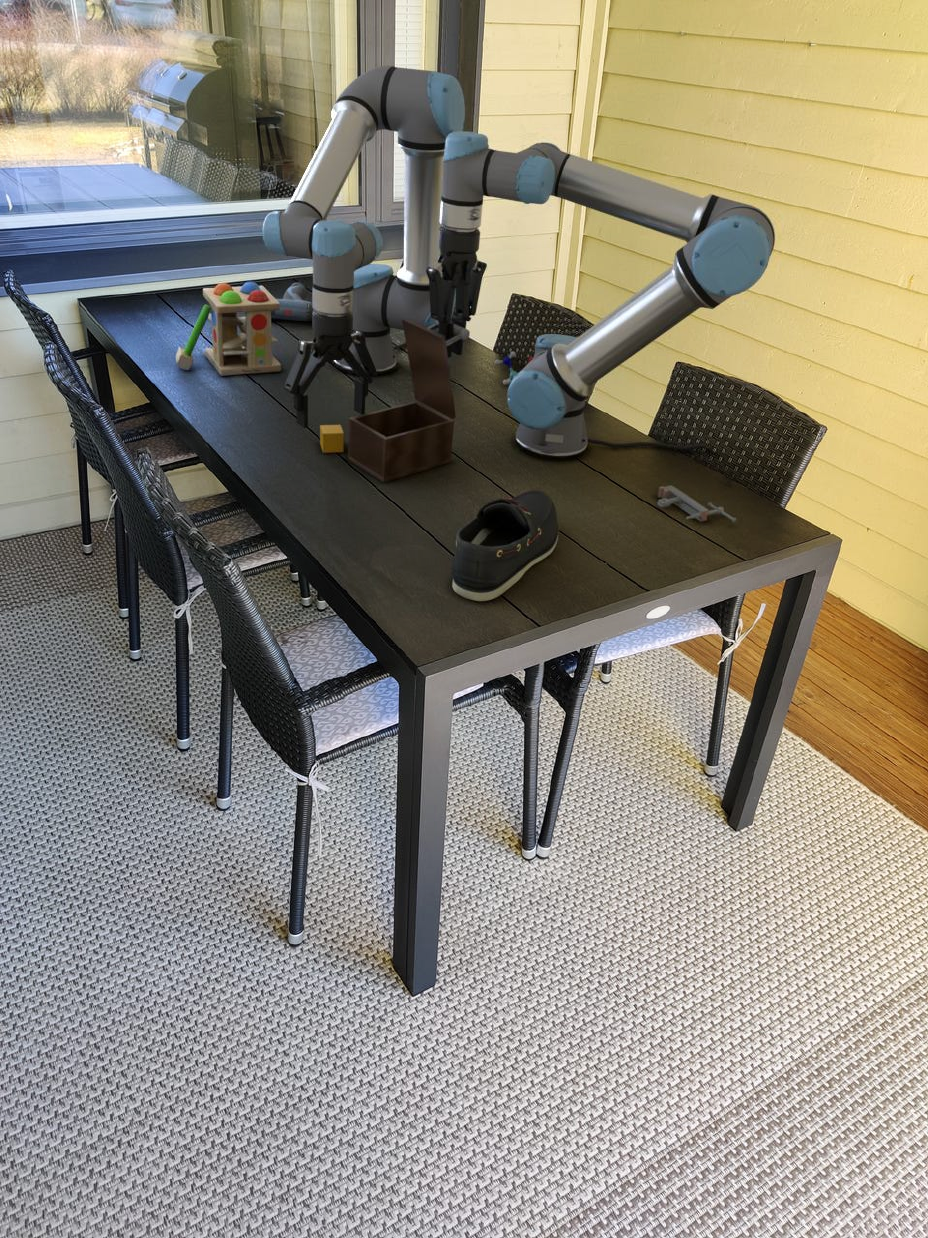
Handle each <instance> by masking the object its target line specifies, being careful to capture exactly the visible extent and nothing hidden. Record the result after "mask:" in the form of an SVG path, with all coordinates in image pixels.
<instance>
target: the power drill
mask: <svg viewBox="0 0 928 1238" xmlns="http://www.w3.org/2000/svg"><path fill="white" fill-rule="evenodd" d="M307 295H308V290H307V287H306V285H304V284H303V283H301V282H293V283H292V284H291V285H290V286H289V287H288V288H287V289H286V291H285V292H284V294H283V297H282V298H275V299H276V300H277V301H278V302H279V303H280V310H271V319H274V320H275V319H276V320H283V321H294V322H295V321H297V322H312V313H313V311H314V309H313V307H312V301H307V300H305V299H306V297H307Z"/></svg>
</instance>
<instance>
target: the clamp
mask: <svg viewBox="0 0 928 1238" xmlns="http://www.w3.org/2000/svg"><path fill="white" fill-rule="evenodd" d="M656 497H657V498H659V499H658V501H657V506H659V507H660V508H667V507H669V506H670V507H671V505H673V504H674V505H675V506H677V507H679V508H680V509H681V510H682V511H684V512H686V513H687V514H688V516H686V517H685V519H686V520H691V519H692V520H694V519H696V520H697V521H699V522H704V521H707V519H708V516H711V515H717V516H718V515H723V516H725V517H726V518H728V519H729V520H731V521H732V523H736V522H737V521H738V519H737V517H733V516H732V515H730V514H728V513H727V512H725V509H724V507H723V506H718V507H717V506H715V505H714V504H713V503H712V502H711V501H709V502H707V507H708V508H711V509H712V510H709V509H708V508H706V507H705V506H704V505H702V504H701V503H699V502H698V501H696V500H695V499H693V498H691V497H690V496H689V495H687V494H686V493H684V492H683V491H681V490H679V489H678V488H677V487H675V486H674V485H666V486H664V485H662V486H659V487H658V492H657V496H656ZM660 498H661V499H660Z"/></svg>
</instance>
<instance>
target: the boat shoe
mask: <svg viewBox="0 0 928 1238" xmlns="http://www.w3.org/2000/svg"><path fill="white" fill-rule="evenodd" d="M558 520H559V519H558V513H557V509H556V506H555V503H554V502H553V500H552V498H551V496H549V494H548V493H546V492H545V491H542V490H539V489H537V490H536V489H533V490H528V491H526V492H522V493H520V494H517V495H516V496H514V497H513V498H505V497H504V498H499V497H498V498H495V499H493V500H491V501H488V502H486V503H485V504H483V505H482V506H481V507H480V508H479V509H478V511H477V512H476V514H475V516H474V518H472V519H470V520H469V521H468V522H467V523H465V525H463V526H461V527H460V528H459V529H458V530H457V532H456V534H455V536H454V538H453V544H455V548H454V549H455V552H454V556H453V560H452V567H450V573H451V575H453V576H452V585H451V586H452V589H453V591H454V592H455V593H456V594H457V595H459V596H460V597H463V598H464V599H468V600H470V601H471V600H472V601H476V602H486V601H490V600H493V599H496V598H498V597H499V596H501V595H502V594H504V593H505V592H506V591H507V590H508V589H510V588H511V587H512V586H514V585H515V584H516V583H517V582H518V581H520V579H522V577H523V575H524V574H525V573H526V572H527V571H528V570H529V569H530V568H531V567H533V565H535V564H536V563H539V562H541V561H543V560H544V559H546V558H547V557H549V556H550V555H551V554H552V553H553V551H554V550H555V548H556V546H557V543H558V539H559V522H558Z"/></svg>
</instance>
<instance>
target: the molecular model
mask: <svg viewBox="0 0 928 1238" xmlns="http://www.w3.org/2000/svg"><path fill="white" fill-rule="evenodd" d="M516 355H517V354H516V352H515V351H511V352H510V354H509V356H508V357H504V359H503V360H500V359H496V360H494V363H495V365H497V366H499V365H500V364H504V365H506V366H507V367H508V369H509V371H510V373H509V377H508V379H504V380H502V385H504V386H510V384H511V381H512V380H513V378H514V376H515V375H516V374H518V373H519V372H517V371H516V370H514V369H513V367H512V365H511V362H512V361H511V359H512V358H514V357H515V356H516ZM533 358H534V356H531V357H529V358H528V363H529V362H530V361H531V360H532V359H533Z"/></svg>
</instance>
